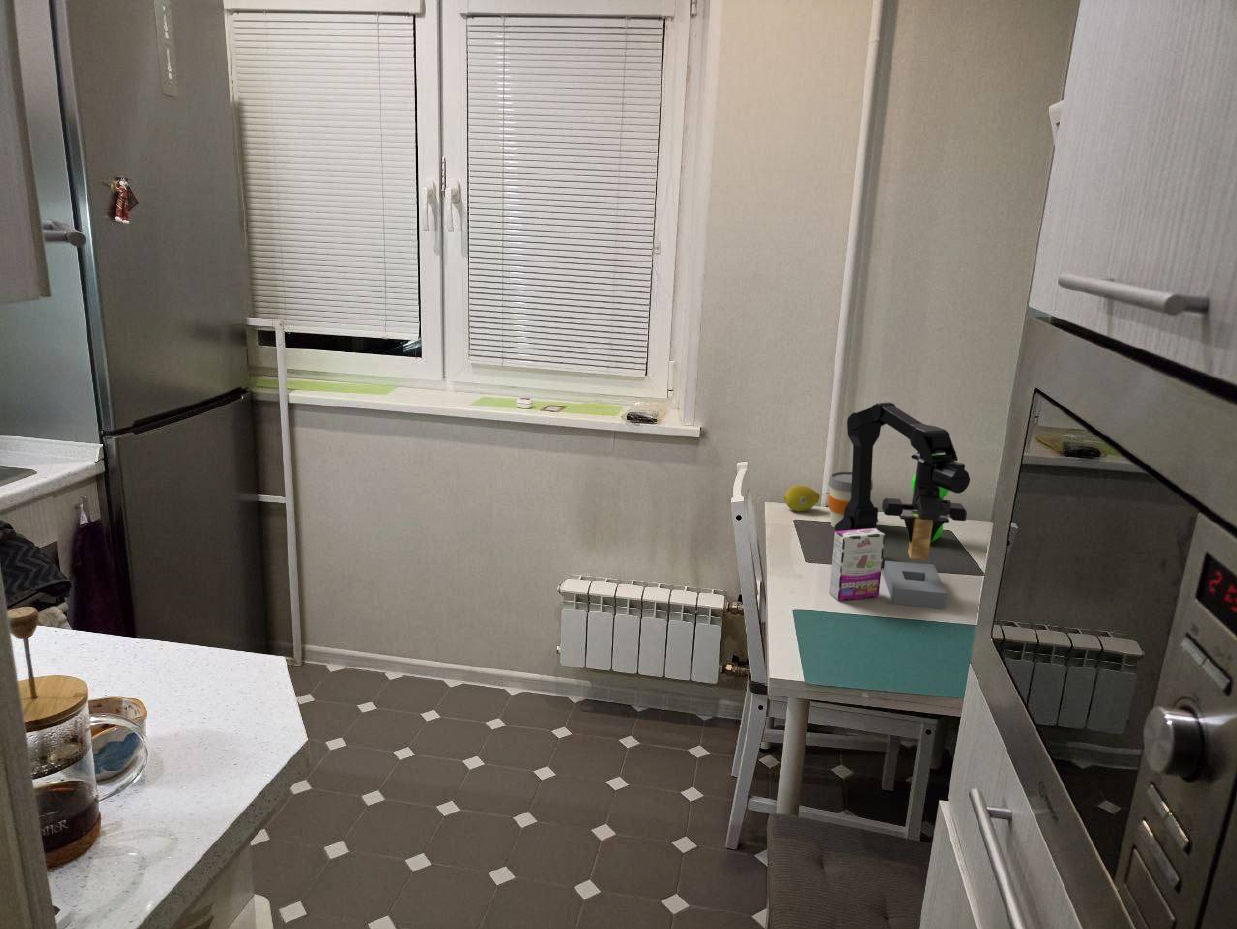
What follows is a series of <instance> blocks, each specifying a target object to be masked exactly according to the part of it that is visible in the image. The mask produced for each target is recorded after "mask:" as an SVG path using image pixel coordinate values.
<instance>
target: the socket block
mask: <svg viewBox="0 0 1237 929" xmlns="http://www.w3.org/2000/svg"><path fill="white" fill-rule="evenodd" d="M883 566H884V567H883V574H882V575H883V578H884V581H885V584H886V587H887V590H888V593H889V596H890V599H891V601H892V604H893V605H898V606H908V607H911V606H912V607H920V608H921V607H922V608H933V609H941V608H942V609H943V608H946V607H947V601H948V594H949V593H948V591H947V588H946V587H945V585H944V583H943V581H942V579H941V576H940V575H939V572H938V570H937V569H936V567H935V564H930V563H920V562H919V563H917V562H905V561H893V560H884V565H883ZM943 610H944V609H943Z"/></svg>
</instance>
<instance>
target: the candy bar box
mask: <svg viewBox="0 0 1237 929" xmlns="http://www.w3.org/2000/svg"><path fill="white" fill-rule="evenodd" d="M833 536H834V538H833V549H832V561H831V572H830V582H829V584H830V585H829V595H830V596H832V598H834V599H835V600H836V601H837V602H845V601H847V602H848V601H856V600H866V599H873V598H879V597H880V587H881V580H882V579H881V578H882V567H883V559H884V551H885V550H884V549H885V541H886V540H885V539H886V534H885V533H884V532H882V531H881V530H880V529H878V528H877V527H875V528H869V529H856V530H844V531H835V530H834V535H833Z"/></svg>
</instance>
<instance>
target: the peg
mask: <svg viewBox="0 0 1237 929" xmlns="http://www.w3.org/2000/svg"><path fill="white" fill-rule="evenodd" d="M932 525H933V520H921V519H919V518H918V515H917V514H913V531H912V542H911V543H910V542H909V541H908V542H909V544H908V550H907V553H908V556H909V558H910V559H912V560H923V561H928V560H929V553H930V545H931V543H930V539H931V532H932Z"/></svg>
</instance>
